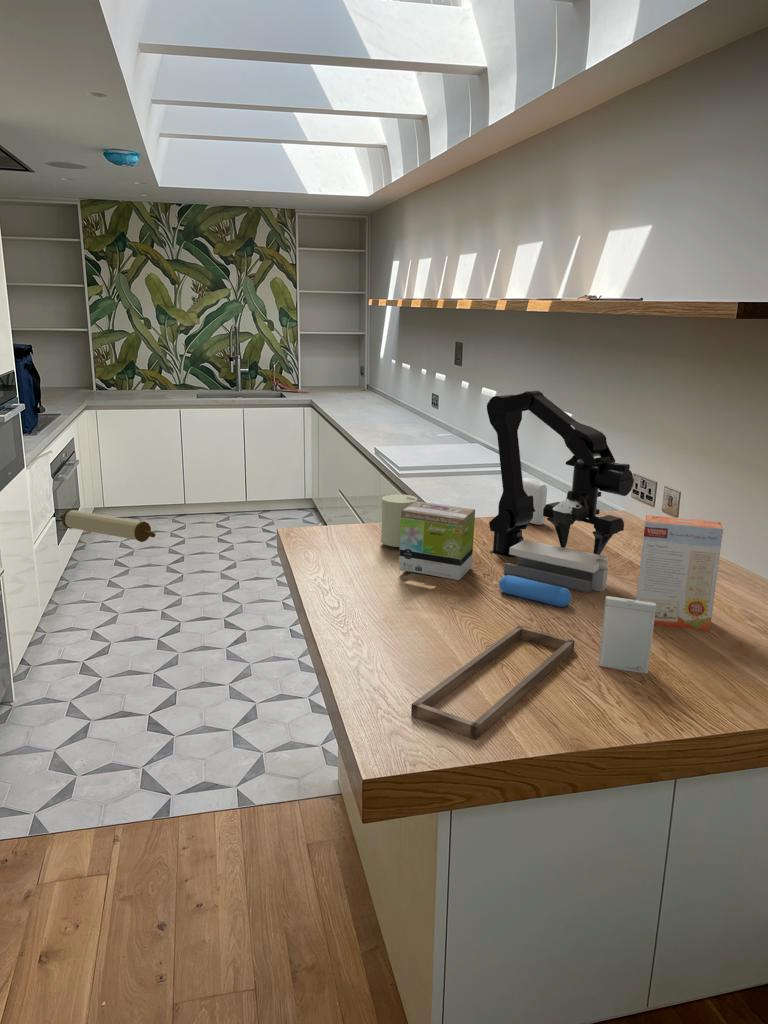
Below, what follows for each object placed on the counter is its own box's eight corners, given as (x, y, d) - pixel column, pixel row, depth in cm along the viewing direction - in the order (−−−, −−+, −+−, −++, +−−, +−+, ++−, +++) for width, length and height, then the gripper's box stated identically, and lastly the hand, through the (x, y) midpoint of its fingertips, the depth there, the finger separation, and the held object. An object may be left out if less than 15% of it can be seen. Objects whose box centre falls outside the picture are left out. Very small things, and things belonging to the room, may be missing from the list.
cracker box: (708, 622, 156) (722, 520, 151) (709, 633, 151) (724, 528, 145) (634, 611, 160) (645, 512, 155) (633, 622, 155) (645, 520, 149)
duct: (504, 574, 181) (505, 554, 180) (518, 565, 187) (519, 546, 186) (597, 595, 169) (599, 574, 168) (609, 585, 175) (611, 565, 174)
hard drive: (647, 674, 133) (656, 606, 130) (598, 666, 136) (605, 598, 133) (648, 670, 135) (656, 602, 131) (599, 662, 137) (605, 595, 134)
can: (416, 547, 199) (418, 501, 196) (380, 546, 199) (381, 500, 196) (415, 536, 208) (417, 492, 205) (380, 535, 208) (381, 491, 205)
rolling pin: (51, 526, 201) (52, 507, 200) (69, 526, 206) (70, 507, 205) (145, 545, 186) (147, 524, 186) (162, 543, 191) (164, 523, 191)
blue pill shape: (495, 593, 169) (496, 576, 168) (503, 588, 172) (504, 571, 171) (566, 611, 160) (567, 592, 159) (573, 605, 163) (575, 587, 162)
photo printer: (509, 518, 228) (512, 476, 225) (519, 516, 231) (522, 474, 228) (537, 526, 220) (540, 483, 217) (546, 523, 223) (550, 481, 220)
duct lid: (509, 554, 179) (509, 547, 179) (523, 546, 185) (524, 539, 185) (599, 573, 167) (600, 566, 167) (612, 564, 174) (612, 557, 173)
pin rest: (411, 716, 118) (411, 704, 118) (517, 635, 148) (518, 625, 147) (476, 739, 112) (476, 727, 112) (573, 650, 142) (574, 640, 141)
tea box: (397, 571, 181) (399, 509, 177) (412, 559, 190) (414, 499, 186) (460, 581, 176) (463, 517, 172) (472, 568, 185) (476, 507, 181)
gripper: (529, 483, 179) (524, 549, 183) (597, 500, 165) (590, 571, 169) (561, 478, 186) (555, 541, 190) (628, 493, 172) (621, 561, 176)
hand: (579, 553), depth 181 cm, fingers open, 9 cm apart
